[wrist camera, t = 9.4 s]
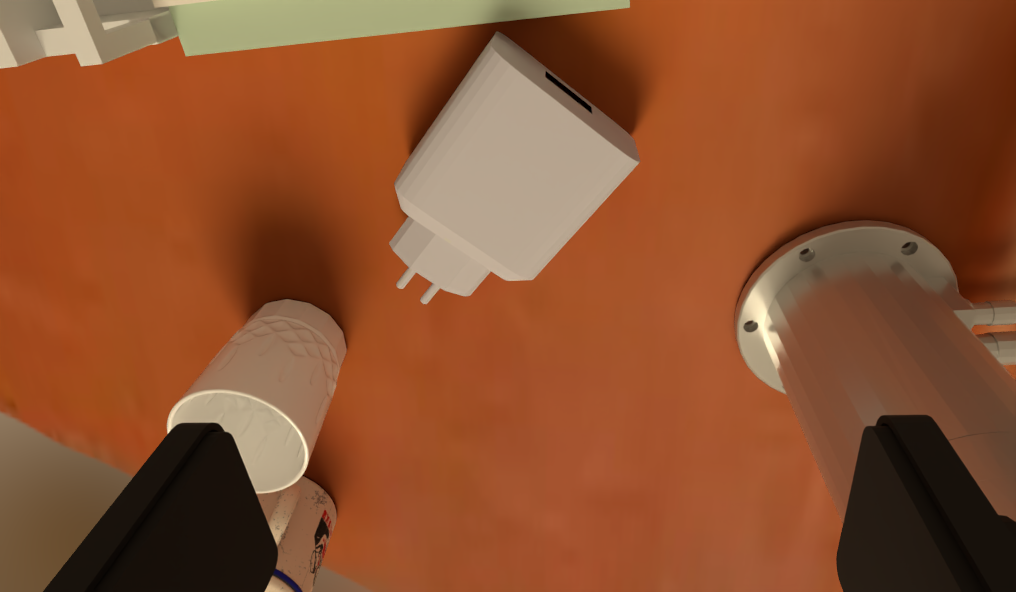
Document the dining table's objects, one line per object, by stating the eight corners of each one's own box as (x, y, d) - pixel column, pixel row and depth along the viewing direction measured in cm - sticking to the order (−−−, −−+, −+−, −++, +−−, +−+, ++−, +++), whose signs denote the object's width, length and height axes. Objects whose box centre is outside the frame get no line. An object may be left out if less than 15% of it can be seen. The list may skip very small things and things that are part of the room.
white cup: (242, 373, 47) (172, 480, 39) (238, 279, 43) (159, 377, 35) (352, 393, 48) (307, 504, 39) (359, 302, 43) (309, 405, 35)
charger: (355, 233, 41) (498, 27, 34) (477, 312, 44) (634, 135, 37) (333, 272, 37) (490, 47, 30) (469, 356, 39) (642, 166, 33)
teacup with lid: (322, 553, 58) (272, 693, 48) (219, 517, 56) (146, 654, 46) (367, 468, 52) (321, 607, 42) (254, 424, 50) (178, 558, 40)
